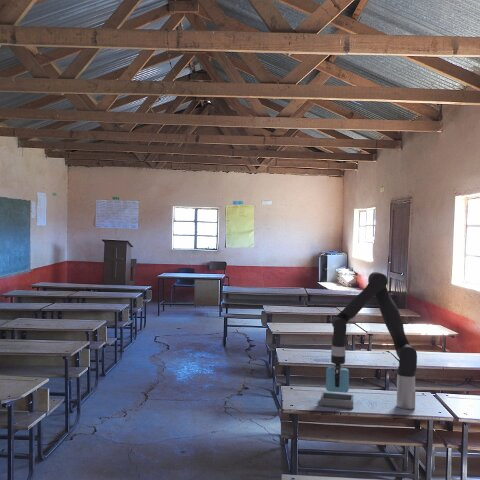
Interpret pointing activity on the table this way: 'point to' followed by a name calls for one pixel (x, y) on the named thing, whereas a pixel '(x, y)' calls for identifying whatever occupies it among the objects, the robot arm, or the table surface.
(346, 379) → the light blue flat block
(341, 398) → the holder tray
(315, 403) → the table surface
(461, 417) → the table surface
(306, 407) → the table surface
